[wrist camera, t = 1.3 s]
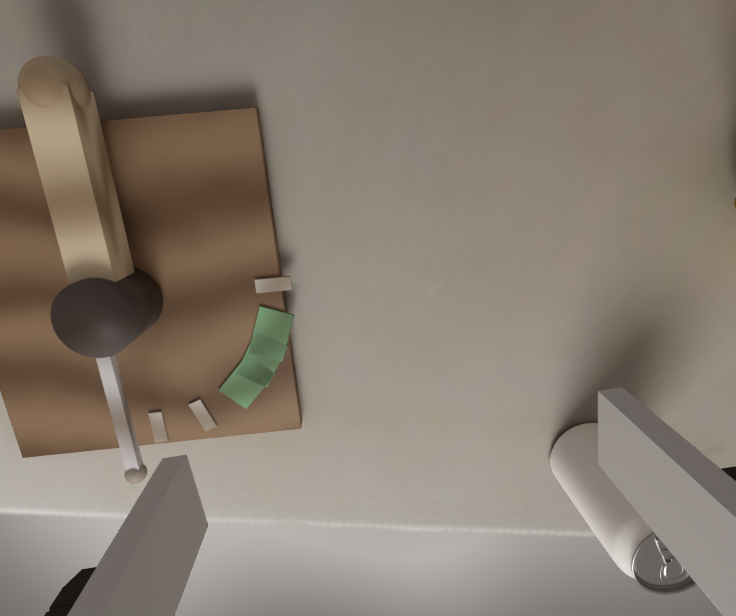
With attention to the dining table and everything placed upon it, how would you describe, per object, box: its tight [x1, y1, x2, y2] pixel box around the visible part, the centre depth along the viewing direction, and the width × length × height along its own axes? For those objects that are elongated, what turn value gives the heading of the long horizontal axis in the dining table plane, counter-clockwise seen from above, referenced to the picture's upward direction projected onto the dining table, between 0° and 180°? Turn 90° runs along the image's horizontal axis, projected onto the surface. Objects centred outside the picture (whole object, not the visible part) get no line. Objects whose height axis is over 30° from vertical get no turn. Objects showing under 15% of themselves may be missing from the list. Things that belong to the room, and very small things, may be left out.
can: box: [550, 423, 697, 595], centre depth 36 cm, size 6×6×12 cm
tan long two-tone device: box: [17, 56, 163, 484], centre depth 32 cm, size 27×5×5 cm, turn 5°
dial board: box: [0, 108, 302, 458], centre depth 35 cm, size 24×23×1 cm
